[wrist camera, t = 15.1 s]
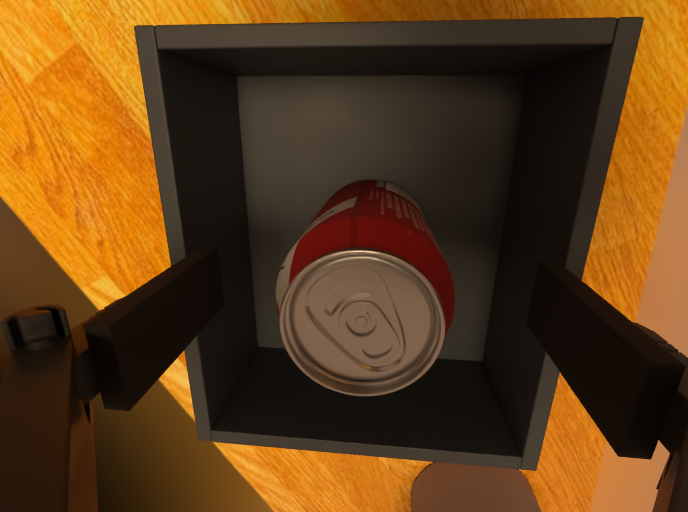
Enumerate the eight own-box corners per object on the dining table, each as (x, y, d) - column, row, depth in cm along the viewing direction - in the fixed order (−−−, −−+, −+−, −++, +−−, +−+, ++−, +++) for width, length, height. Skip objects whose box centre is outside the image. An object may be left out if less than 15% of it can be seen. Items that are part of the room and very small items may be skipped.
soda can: (392, 156, 22) (402, 187, 11) (444, 250, 24) (500, 366, 12) (298, 212, 24) (221, 291, 12) (352, 297, 25) (328, 435, 14)
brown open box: (537, 61, 20) (645, 16, 12) (488, 363, 27) (536, 471, 19) (228, 63, 22) (132, 24, 14) (252, 347, 29) (197, 441, 20)
